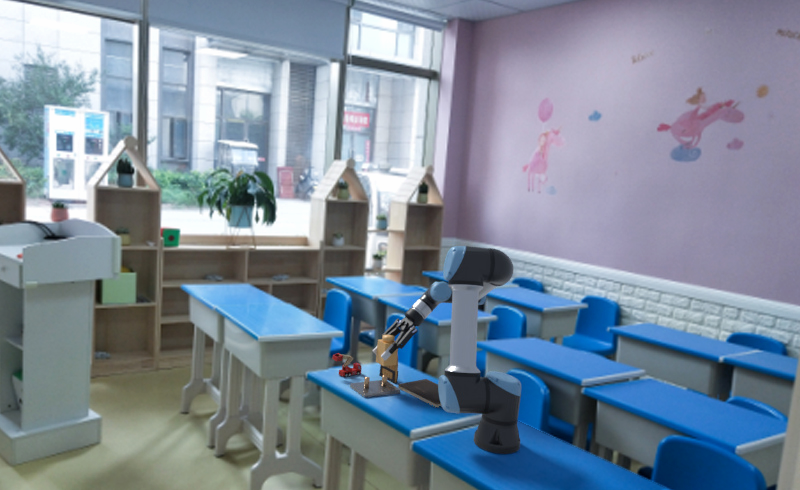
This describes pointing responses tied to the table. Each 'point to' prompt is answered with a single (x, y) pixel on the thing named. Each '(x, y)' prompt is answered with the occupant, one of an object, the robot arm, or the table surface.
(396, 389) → the slate tray with handles
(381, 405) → the table surface
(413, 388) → the hardcover book
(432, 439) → the table surface
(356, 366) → the toy fire truck
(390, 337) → the wooden knobbed peg
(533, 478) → the table surface
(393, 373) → the ammunition clip
